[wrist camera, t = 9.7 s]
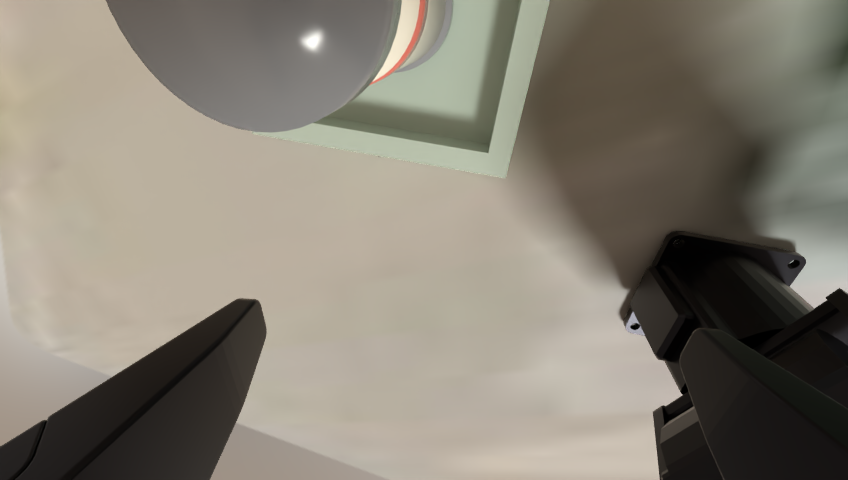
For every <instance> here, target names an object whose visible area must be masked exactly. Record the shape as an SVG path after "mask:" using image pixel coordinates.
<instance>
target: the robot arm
mask: <svg viewBox="0 0 848 480" xmlns="http://www.w3.org/2000/svg"><path fill="white" fill-rule="evenodd" d="M678 239H681V241H680V242H679V243H677V244H673V243H674V242H675V240H678ZM792 260H794V261H793V262H792V263H790V264H788V263H789V262H790V261H792ZM805 264H806V260H805V258H804V257H803V256H801V255H800V254H799V253H797V252H794V251H788V250H783V249H777V248H771V247H766V246H760V245H755V244H749V243H744V242H738V241H732V240H727V239H721V238H716V237H710V236H704V235H699V234H693V233H688V232H682V231H675V232H671V233H670V234H668V235H667V237H666V238H665V240H664V242H663V244H662V246H661V248H660V250H659V252H658V254H657V256H656V258H655V260H654V262H653V264H652V266H650V267H649V268H648V269H647V270H646V272H645V274H644V276H643V278H642V280H641V282H640V284H639V286H638V288H637V290H636V292H635V294H634V296H633V298H632V300H631V302H630V306H631V308H630V309H629V311H628V313H627V315H626V317H625V319H624V326H625V328H626V330H627V331H628V332H630V333H634V334H639V335H644V336H646V338H647V340H648V342H649V344H650V346H651V348H652V350H653V352H654V354H655V356H656V357H657V359H658V360H663V361H665V363H666V365H667V367H668V369H669V371H670V372H671V374H672V376H673V378H674V380H675V382H676V384H677V386H678V388H679V390H680V392H681V393H682V394H683V395H682V396H681V397H679V398H678V399H676V400H675V401H673V402H672V403H670V404H669V405H667V406H661V407H659V408H658V409H656V410H655V411H653V417H654V427H655V437H656V446H657V456H658V466H659V475H660V480H848V293H846V292H845V291H843V290H842V289H840V288H839V289H838V290H836V291H835V292H833V293H832V294H830V295H829V296H827V297H826V299H827V301H825V302H824V303H822V304H821V305H819V306H818V307H816V308H815V309H814V308H813V307H812V306H811V305H810V304H808V303H807V302H806V301H805V300H804V299H803V298H802V297H801V296H799V295H798V294H797V293H796V292H795V291H794V290H793V289H791V288H790V287H789V286H790V285H791V284H792V282H793V281H794V280H795V278H796V277H797V276H798V274H799V273H800V271H801V270H802V269H803V267H804V266H805ZM633 323H637V324H636V325H632V324H633ZM265 338H266V325H265V320H264V316H263V312H262V308H261V304H260V302H259V301H258V300H256V299H243V298H241V299H237V300H235V301H233V302H231V303H230V304H228V305H227V306H225V307H223V308H222V309H220V310H219V311H217V312H215V313H214V314H212V315H211V316H209V317H207V318H206V319H204V320H203V321H201V322H199V323H198V324H196V325H195V326H193V327H191V328H190V329H188V330H187V331H185V332H183V333H182V334H180V335H179V336H177V337H175V338H174V339H172V340H171V341H169V342H167V343H166V344H164V345H163V346H161V347H159V348H158V349H156V350H155V351H153V352H151V353H150V354H148V355H147V356H145V357H143V358H142V359H140V360H139V361H137V362H135V363H134V364H132V365H131V366H129V367H127V368H126V369H124V370H123V371H121V372H119V373H118V374H116V375H115V376H113V377H111V378H110V379H108V380H107V381H105V382H103V383H102V384H100V385H99V386H97V387H95V388H94V389H92V390H91V391H89V392H87V393H86V394H85V395H83V396H81V397H79V398H78V399H76V400H75V401H73V402H71V403H70V404H68V405H67V406H65V407H64V408H62V409H60V410H59V411H57V412H55V413H54V414H52V415H51V416H50V417H48V419H47V420H43V421H41V422H39V423H38V424H36V425H34V426H33V427H31V428H30V429H28V430H26V431H25V432H23V433H22V434H20V435H19V436H17V437H15V438H13V439H12V440H10V441H9V442H7V443H5V444H4V445H2V446H0V480H210V478H211V475H212V474H213V471H214V469H215V467H216V465H217V463H218V460H219V458H220V456H221V454H222V452H223V449H224V447H225V445H226V443H227V441H228V438H229V436H230V434H231V432H232V430H233V427H234V425H235V423H236V421H237V419H238V416H239V414H240V412H241V409H242V407H243V404H244V402H245V399H246V396H247V393H248V390H249V387H250V384H251V381H252V378H253V375H254V372H255V369H256V366H257V363H258V360H259V357H260V354H261V351H262V348H263V345H264V342H265Z"/></svg>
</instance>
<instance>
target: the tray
mask: <svg viewBox="0 0 848 480" xmlns="http://www.w3.org/2000/svg"><path fill="white" fill-rule="evenodd" d="M453 2H454V7H453V18H452V23H451V27H450V30H449V32H448V35H447V37H446V39H445V41H444V43H443V45H442V46H441V47H440V49H439V50H438V51H437V52H436V53H435V54H434V56H433V57H431V58H430V59H429V60H428V61H426V62H424V63H423V64H421V65H419V66H418V67H415V68H413V69H411V70H408V71H404V72H397V73H392V74H391V75H389V76H388V77H386V78H384V79H382V80H380V81H378V82H376V83H373V84H371V85H369V86H368V87H367V88H366V89H365V90H364V91H363V92H362V93H361V94H360V95H359V96H357V97H356V98H355V99H354V100H353V101H351V102H350V103H348V104H347V105H345V106H343V107H342V108H340V109H338V110H336V111H335V112H333V113H331V114H329V115H327V116H325V117H324V118H322V119H320V120H318V121H316V122H314V123H311V124H309V125H306V126H304V127H301V128H297V129H293V130H289V131H283V132H272V133H269V132H253V131H252V134H255V135H261V136H267V137H272V138H278V139H284V140H289V141H295V142H301V143H306V144H312V145H318V146H324V147H329V148H335V149H341V150H346V151H352V152H358V153H363V154H369V155H375V156H381V157H386V158H392V159H398V160H403V161H409V162H415V163H420V164H426V165H432V166H438V167H443V168H449V169H455V170H460V171H466V172H472V173H477V174H483V175H489V176H494V177H500V178H506V175H507V171H508V167H509V163H510V159H511V155H512V151H513V147H514V143H515V139H516V135H517V131H518V127H519V123H520V119H521V115H522V111H523V107H524V103H525V99H526V95H527V91H528V87H529V83H530V79H531V75H532V71H533V66H534V62H535V58H536V54H537V50H538V46H539V42H540V38H541V34H542V30H543V26H544V22H545V18H546V14H547V10H548V6H549V2H550V0H453Z"/></svg>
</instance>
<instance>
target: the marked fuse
mask: <svg viewBox="0 0 848 480" xmlns="http://www.w3.org/2000/svg"><path fill="white" fill-rule="evenodd" d="M106 2H107V4H108V6H109V9H110V11H111V13H112V15H113V17H114V18H115V20H116V22H117V24H118V26H119V28H120V30H121V32H122V33H123V35H124V36H125V38H126V39H127V41H128V43H129V44H130V46H131V47H132V49H133V50H134V51H135V53H136V54H137V55H138V57H139V58H140V59H141V61H142V62H143V63H144V64H145V66H146V67H147V68H148V69H149V70H150V71H151V72H152V74H153V75H154V76H155V77H156V78H157V79H158V80H159V81H160V82H161V83H162V84H163V85H164V86H165V87H166V88H168V89H169V90H170V91H171V92H172V93H173V94H174V95H175V96H177V97H178V98H179V99H181V100H182V101H183V102H185V103H186V104H187V105H189V106H190V107H192V108H193V109H195V110H197V111H198V112H200V113H202V114H203V115H205V116H207V117H209V118H211V119H214V120H216V121H218V122H220V123H222V124H225V125H228V126H232V127H235V128H238V129H243V130H248V131H253V132H269V133H272V132H283V131H289V130H293V129H297V128H301V127H304V126H306V125H309V124H311V123H314V122H316V121H318V120H320V119H322V118H324V117H325V116H327V115H329V114H331V113H333V112H335V111H336V110H338V109H340V108H342V107H343V106H345V105H347V104H348V103H350V102H351V101H353V100H354V99H355V98H356V97H357V96H359V95H360V94H361V93H362V92H363V91H364V90H365V89H366V88H367V87H368V86H369V85H371V84H373V83H376V82H378V81H380V80H382V79H384V78H386V77H388V76H389V75H391V74H392V73H397V72H404V71H408V70H411V69H413V68H415V67H418V66H419V65H421V64H423V63H424V62H426V61H428V60H429V59H430V58H431V57H433V56H434V54H435V53H436V52H437V51H438V50H439V49H440V47H441V46H442V45H443V43H444V41H445V39H446V37H447V35H448V32H449V30H450V27H451V23H452V18H453V7H454V2H453V0H106Z"/></svg>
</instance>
